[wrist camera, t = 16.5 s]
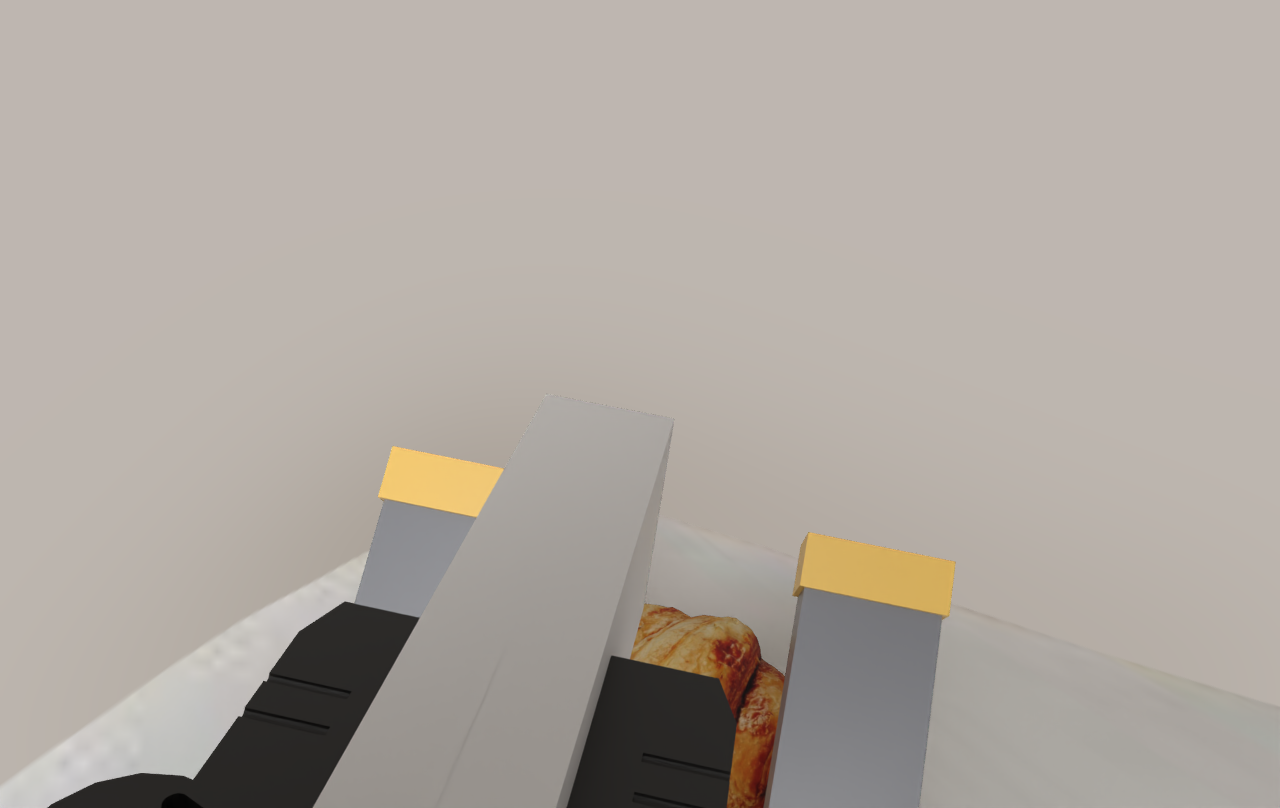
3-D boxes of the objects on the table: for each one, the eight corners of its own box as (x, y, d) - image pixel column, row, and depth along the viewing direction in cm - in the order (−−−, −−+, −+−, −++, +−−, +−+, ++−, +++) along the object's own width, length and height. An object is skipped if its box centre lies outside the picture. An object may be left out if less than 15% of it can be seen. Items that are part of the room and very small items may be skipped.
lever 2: (916, 1031, 34) (969, 564, 39) (718, 983, 35) (795, 529, 40) (900, 1015, 36) (952, 576, 41) (715, 970, 37) (788, 542, 42)
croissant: (471, 702, 56) (418, 627, 50) (590, 561, 60) (554, 476, 55) (821, 956, 45) (806, 897, 39) (936, 760, 49) (938, 681, 44)
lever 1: (436, 914, 36) (543, 476, 40) (254, 871, 36) (379, 443, 41) (450, 904, 38) (550, 490, 42) (279, 863, 39) (395, 459, 43)
